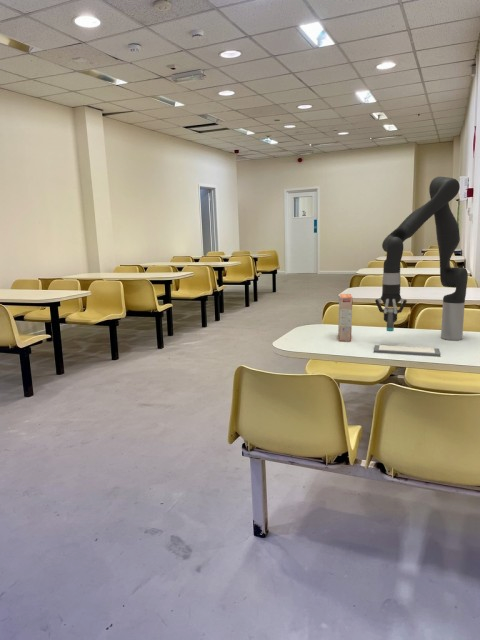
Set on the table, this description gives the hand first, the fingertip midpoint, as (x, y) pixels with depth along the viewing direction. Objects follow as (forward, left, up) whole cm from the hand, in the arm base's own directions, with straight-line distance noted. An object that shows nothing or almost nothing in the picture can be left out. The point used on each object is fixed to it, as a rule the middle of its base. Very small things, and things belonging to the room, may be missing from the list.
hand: (390, 321), depth 207 cm
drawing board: (+11, +7, -11) cm, 17 cm away
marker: (0, 0, -4) cm, 4 cm away
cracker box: (-9, -21, -11) cm, 25 cm away
